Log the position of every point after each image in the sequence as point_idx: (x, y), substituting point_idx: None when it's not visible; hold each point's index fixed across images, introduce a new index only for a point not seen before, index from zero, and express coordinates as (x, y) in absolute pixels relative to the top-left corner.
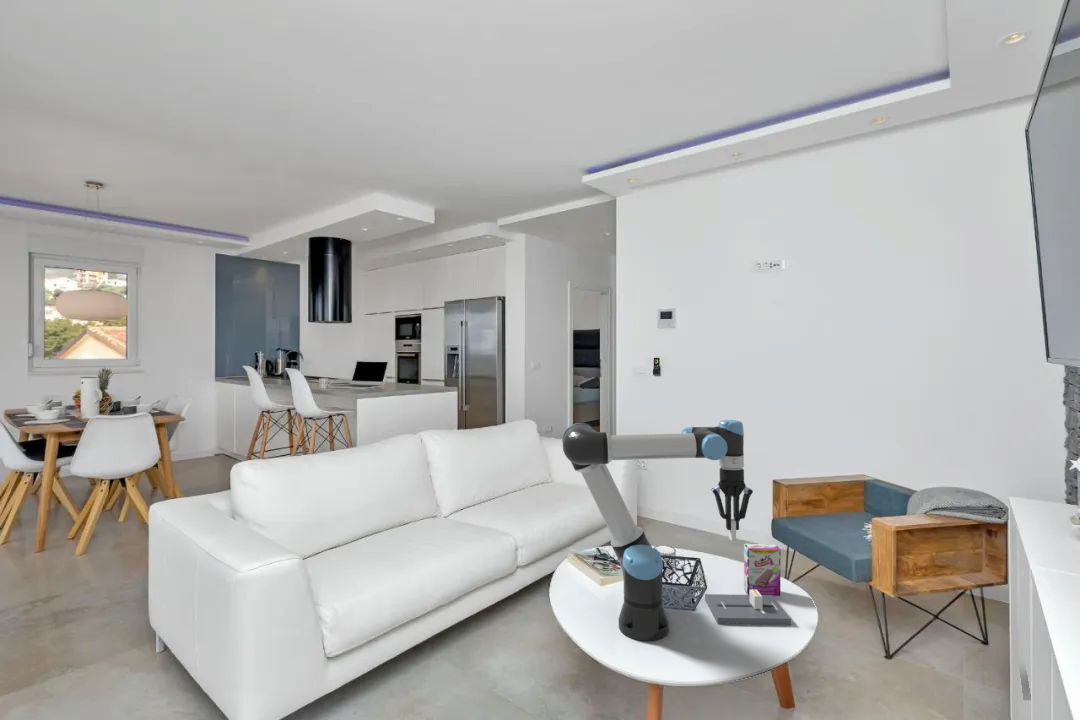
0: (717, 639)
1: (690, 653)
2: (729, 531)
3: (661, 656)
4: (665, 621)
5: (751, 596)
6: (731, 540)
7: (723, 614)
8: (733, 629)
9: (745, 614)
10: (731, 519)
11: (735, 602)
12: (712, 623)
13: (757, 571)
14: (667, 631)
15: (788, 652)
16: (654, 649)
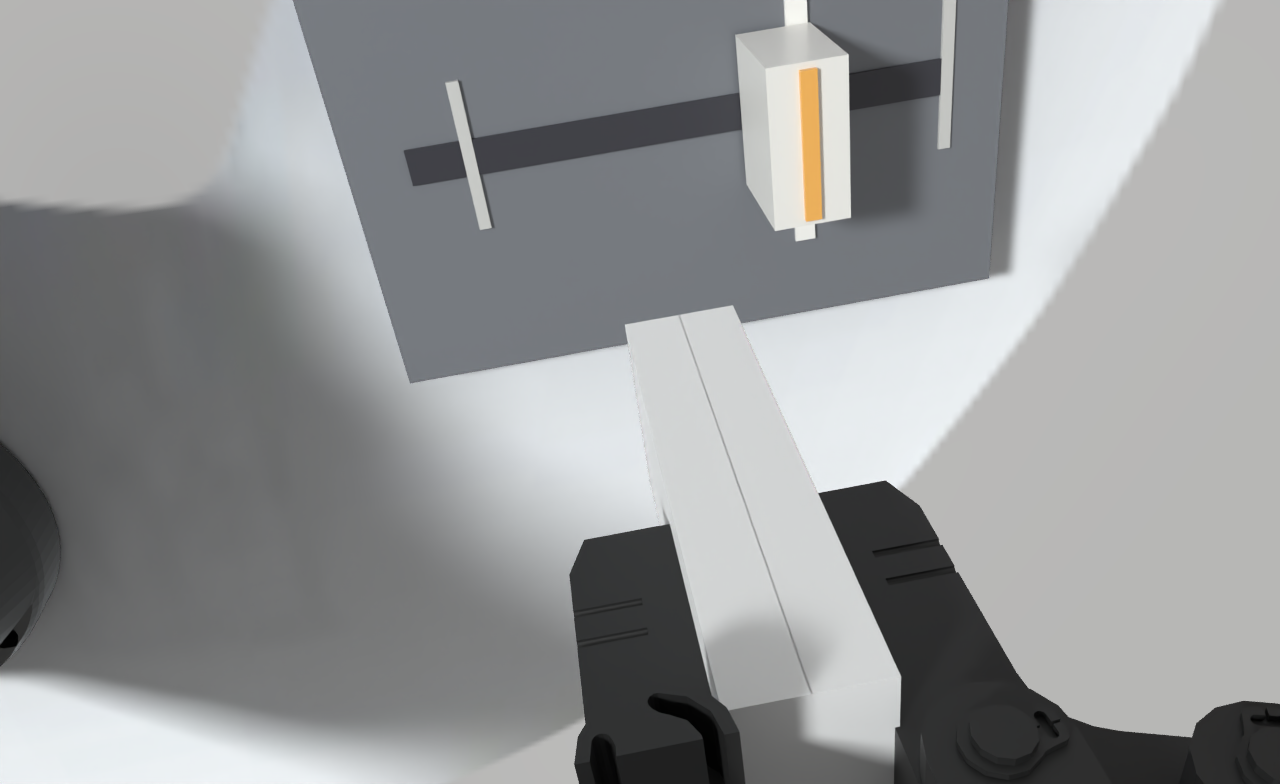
0: (409, 536)
1: (252, 694)
2: (655, 454)
3: (91, 751)
4: (10, 630)
5: (758, 122)
6: (650, 480)
7: (460, 323)
8: (527, 399)
9: (645, 283)
10: (795, 772)
11: (592, 64)
12: (372, 351)
13: None
14: (52, 579)
15: None
16: (28, 710)
